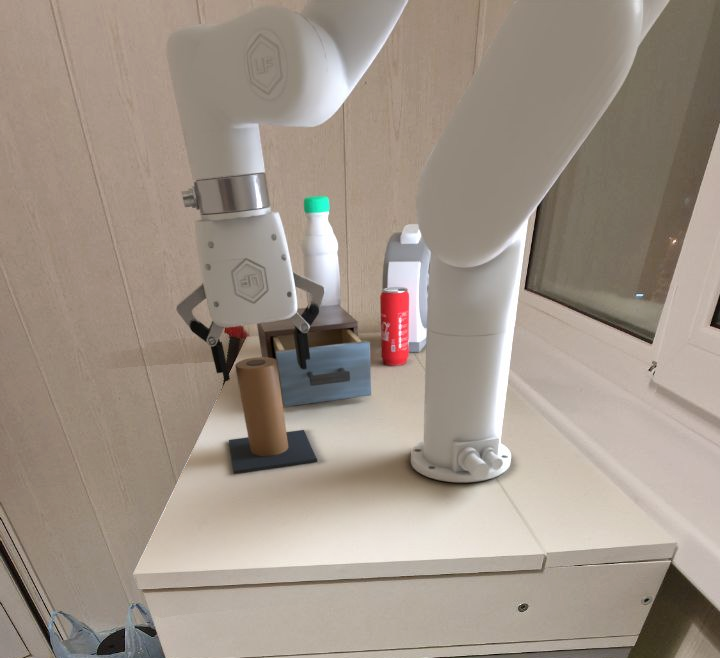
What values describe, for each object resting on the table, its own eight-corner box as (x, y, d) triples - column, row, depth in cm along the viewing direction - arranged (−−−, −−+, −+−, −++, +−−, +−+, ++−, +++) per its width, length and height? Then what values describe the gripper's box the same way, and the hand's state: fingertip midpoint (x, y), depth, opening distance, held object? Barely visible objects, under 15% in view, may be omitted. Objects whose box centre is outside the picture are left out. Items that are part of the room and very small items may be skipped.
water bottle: (306, 345, 119) (291, 197, 103) (336, 340, 121) (326, 194, 105) (318, 353, 114) (304, 198, 98) (349, 347, 116) (341, 195, 100)
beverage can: (406, 366, 104) (407, 292, 96) (379, 366, 105) (377, 292, 97) (410, 358, 108) (411, 286, 100) (384, 358, 109) (382, 287, 101)
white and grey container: (422, 357, 108) (426, 229, 95) (381, 355, 110) (378, 230, 97) (441, 334, 121) (446, 218, 108) (403, 333, 123) (404, 220, 110)
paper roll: (290, 453, 75) (279, 365, 68) (252, 458, 74) (236, 370, 67) (285, 439, 79) (274, 354, 71) (249, 444, 78) (233, 359, 71)
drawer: (378, 403, 87) (376, 349, 81) (287, 415, 85) (279, 360, 79) (351, 371, 100) (349, 322, 95) (272, 380, 98) (265, 331, 93)
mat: (317, 461, 73) (317, 458, 73) (234, 473, 72) (233, 470, 71) (304, 432, 81) (303, 429, 81) (229, 442, 80) (228, 439, 80)
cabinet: (360, 382, 98) (357, 321, 92) (273, 393, 96) (264, 331, 89) (342, 360, 109) (338, 304, 103) (263, 369, 107) (255, 312, 101)
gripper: (148, 210, 55) (196, 391, 66) (319, 191, 57) (337, 369, 68) (152, 207, 60) (195, 375, 71) (308, 190, 62) (326, 355, 74)
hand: (264, 372), depth 70 cm, fingers open, 9 cm apart
